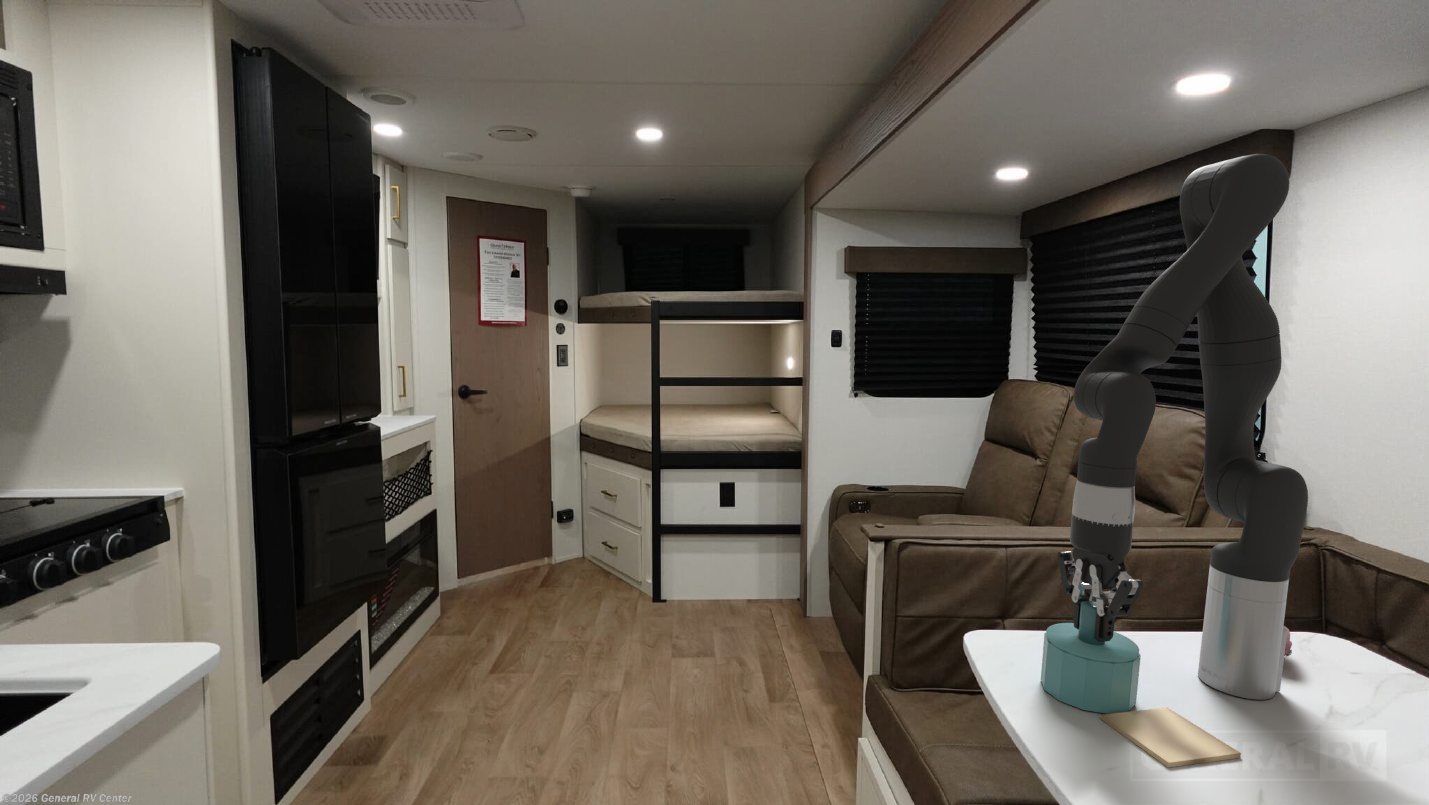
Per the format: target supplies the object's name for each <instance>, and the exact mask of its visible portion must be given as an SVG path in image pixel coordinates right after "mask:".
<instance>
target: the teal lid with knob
mask: <svg viewBox="0 0 1429 805" xmlns="http://www.w3.org/2000/svg"><path fill="white" fill-rule="evenodd" d="M1106 607H1108V606H1107V605H1106ZM1096 614H1098V613H1097V602H1096V601H1094V600H1092V601H1083V602H1081V609H1080V620H1079V630H1078V629H1076V628H1075V627H1074V622H1062V623H1061V622H1059V623H1055V624H1052V625H1049V626H1048V627H1047V629H1046V630H1045V631H1046V632H1045V633H1044V636H1043V645H1042V646H1043V648H1042V658H1041V659H1042V662H1041V673H1040V674H1041V675H1040V680H1041V684H1042V687H1043V690H1044V691H1046V692H1047V693H1049V694H1050V695H1051V696H1052V697H1054V698H1055V699H1056V700H1058V701H1059V702H1061V703H1065V704H1066V705H1069V706H1073V707H1074V708H1078V709H1080V710H1081V711H1082V710H1083V711H1088V712H1094V713H1100V714H1113V713H1122V712H1130V710H1132V709H1133V707H1134V706H1136V704H1137V697H1138V696H1137V695H1138V689H1139V688H1138V686H1139V675H1140V665H1141V653H1140V648H1139V645H1138V644H1137V643H1135V642H1134V640H1132V639H1130V638H1129V637H1127V636H1125V635H1123V634H1121V633H1119V632H1117V631H1114V634H1113V637H1112V639H1111V640H1110V641H1106V642H1099V641H1097V640H1096V639H1095V638H1094V634H1095V623H1096Z"/></svg>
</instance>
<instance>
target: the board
mask: <svg viewBox="0 0 1429 805" xmlns="http://www.w3.org/2000/svg"><path fill="white" fill-rule="evenodd" d="M1100 720H1101V721H1103V722H1104V723H1106V724H1107V725H1108V726H1110V727H1111V728H1112V729H1114V730H1115V731H1117V732H1118V733H1119V734H1121V735H1122V736H1124V737H1125V738H1126V739H1128V740H1129V741H1130V742H1132V743H1133V744H1134V745H1136V746H1137V747H1139V748H1140V749H1142V750H1143V751H1145V753H1147V754H1149V755H1150V756H1152V757H1153V758H1154V759H1156V760H1157V761H1158V762H1160V763H1161V764H1162V765H1164V766H1166V767H1167V768H1175V767H1181V766H1183V767H1184V766H1188V765H1196V764H1197V765H1198V764H1204V763H1211V762H1219V761H1225V760H1234V759H1240V758H1241V757H1242V756H1241V755H1242V753H1241V752H1240V751H1239V750H1237V749H1235V748H1233V747H1232V746H1230V745H1229V744H1227V743H1225V742H1224V741H1223V740H1221V739H1220V738H1217V737H1216V736H1215V735H1213V734H1212V733H1211V732H1208V731H1206V730H1205V729H1203V728H1201V727H1200V726H1198V725H1197V724H1195V723H1193V722H1192V721H1190V720H1188V719H1187V718H1185V717H1184V716H1183V715H1181V714H1179V713H1177V712H1176V711H1174V710H1172V709H1171V708H1169V707H1159V708H1150V709H1143V710H1142V709H1141V710H1132V711H1129V712H1121V713H1113V714H1106V713H1104V714H1101V715H1100Z"/></svg>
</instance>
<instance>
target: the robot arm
mask: <svg viewBox="0 0 1429 805" xmlns="http://www.w3.org/2000/svg"><path fill="white" fill-rule="evenodd" d="M1289 175H1290V174H1289V173H1288V170H1287V168H1286V166H1285V164H1284V163H1283V162H1282V161H1281V160H1280V159H1279V158H1277V157H1276V156H1273V155H1270V154H1266V153H1255V154H1248V155H1242V156H1238V157H1235V158H1231V159H1227V160H1223V161H1219V162H1214V163H1212V164H1208V165H1204V166H1201V167H1198V168H1197V169H1195V170H1194V171H1192V172H1191V173H1190V174H1189V175H1188V176H1187V178H1186V179H1185V181H1184V182H1183V183H1182V187H1181V189H1180V190H1181V191H1180V197H1179V211H1180V212H1179V213H1180V218H1181V224H1182V225H1181V226H1182V230H1183V233H1184V238H1185V245H1186V251H1185V252H1184V253H1183V254H1182V255H1181V256H1180V257H1179V258H1178V259H1177V260H1176V261H1175V262H1173V263H1172V264H1171V265H1170V266H1169V267H1167V269H1165V271H1163V272H1162V273H1161V274H1160V275H1159V276H1158V277H1157V278H1156V279H1155V280H1154V281H1153V282H1152V283H1151V284H1150V285H1149V286H1148V287H1147V288H1146V289H1145V290H1144V291H1143V293H1142V294H1141V296H1140V297H1139V298H1138V299H1137V302H1136V303H1135V304H1134V306H1133V308H1132V309H1131V311H1130V312H1129V314H1128V315H1127V317H1126V319H1125V321H1124V323H1123V325H1122V326H1121V328H1120V330H1119V332H1118V333H1117V335H1116V336H1115V337H1114V338H1113V339H1112V340H1111V341H1109V343H1108V344H1106V345H1105V347H1104V348H1103V349H1102V350H1101V351H1100V352H1099V353H1098V354H1097V355H1096V356H1095V357H1094V358H1093V360H1091V362H1090V363H1089V364H1087V366H1086V367H1084V369H1083V371H1082V372H1081V374H1080V375H1079V376H1078V379H1077V381H1076V382H1075V386H1074V390H1073V401H1074V405H1075V407H1076V409H1077V410H1078V411H1079V412H1080V414H1082V415H1083V416H1085V417H1087V418H1090V419H1093V420H1098V421H1102V423H1101V426H1100V429H1099V432H1098V434H1097V436H1096V437H1092V438H1088V439H1085V440H1084V441H1083V442H1082V443H1081V445H1080V447H1079V448H1080V449H1079V454H1078V464H1077V475H1076V476H1077V477H1076V478H1077V479H1076V482H1075V483H1076V484H1075V487H1074V488H1075V489H1074V492H1073V498H1072V507H1071V508H1072V510H1071V520H1070V522H1071V524H1070V533H1069V542H1070V544H1071V545H1072V546H1073V549H1072V550H1071V551H1070V550H1068V551H1058V552H1057V562H1058V567H1059V571H1060V572H1059V573H1060V576H1061V577H1060V578H1061V583H1062V589H1063V592H1064V593H1065V594H1066V595H1070V596H1071V600H1072V602H1073V616H1072V621H1073V623H1074V627H1075V628H1076V629H1078V630H1079V620H1080V609H1081V602H1083V601H1093V598H1094V599H1095V600H1096V601H1095V602H1097V613H1098V614H1096V623H1095V634H1094V638H1095V639H1096V640H1097V641H1099V642H1106V641H1110V640H1111V639H1112V637H1113V634H1114V632H1115V623H1116V617H1126V616H1127V617H1128V616H1129V615H1130V613H1131V611H1132V609H1133V608H1134V605H1135V603H1136V601H1137V600H1138V597H1139V595H1140V594H1141V591H1142V590H1143V587H1144V583H1143V581H1142V580H1141V579H1134V578H1133V577H1132V576H1131V575H1129V573H1128V572H1127V571H1128V568H1127V564H1126V557H1127V555H1128V554H1129V553H1130V552H1131V551H1132V543H1133V542H1132V541H1133V533H1134V532H1133V531H1134V523H1135V522H1134V520H1135V512H1136V510H1135V508H1136V492H1135V488H1136V487H1135V485H1136V479H1137V478H1136V477H1137V469H1138V468H1137V466H1138V456H1139V453H1140V451H1141V449H1142V447H1143V444H1144V442H1145V440H1146V437H1147V434H1148V431H1149V428H1150V426H1151V424H1152V421H1153V418H1154V416H1155V412H1156V409H1157V408H1156V407H1157V406H1156V405H1157V400H1156V399H1157V397H1156V393H1155V389H1154V387H1153V384H1152V382H1151V381H1150V380H1149V379H1148V377H1146V376H1145V375H1143V374H1141V373H1143V372H1144V371H1145V370H1147V369H1150V368H1153V367H1156V366H1161V365H1163V364H1165V363H1166V362H1167V361H1168V360H1169V359H1170V358H1171V357H1172V355H1173V354H1174V352H1175V350H1176V348H1177V347H1178V345H1179V344H1180V342H1181V341H1182V339H1183V337H1184V336H1185V333H1186V332H1187V331H1188V329H1189V327H1190V326H1191V324H1192V322H1193V320H1194V319H1195V317H1197V334H1198V335H1197V336H1198V337H1197V339H1198V349H1199V360H1200V370H1201V376H1202V389H1203V390H1202V391H1203V402H1204V403H1203V404H1204V405H1203V408H1204V427H1205V428H1204V429H1205V430H1204V432H1205V433H1204V456H1203V457H1204V458H1203V460H1204V461H1203V490H1204V495H1205V498H1206V501H1207V503H1208V505H1209V507H1210V508H1211V510H1213V511H1214V512H1215V513H1216V514H1218V515H1219V516H1221V517H1225V518H1227V519H1231V520H1234V521H1237V522H1240V523H1243V528H1242V533H1241V536H1240V538H1239V540H1238V541H1236V542H1222V543H1217V544H1215V545H1214V546H1213V547H1212V549H1211V552H1210V559H1209V571H1208V579H1207V580H1208V581H1207V589H1206V596H1205V597H1206V598H1205V606H1204V617H1203V626H1202V634H1201V641H1200V651H1199V652H1200V653H1199V658H1198V659H1199V661H1198V662H1199V663H1198V668H1197V669H1198V670H1197V676H1198V678H1199V679H1200V680H1201V681H1202V682H1203V683H1205V684H1206V685H1208V687H1211V688H1213V689H1215V690H1218V691H1219V692H1222V693H1225V694H1227V695H1231V696H1234V697H1238V698H1244V699H1248V700H1258V701H1259V700H1262V701H1263V700H1269V699H1272V698H1274V697H1275V694H1276V693H1277V692H1281V688H1282V686H1281V685H1282V678H1283V670H1284V663H1285V662H1284V661H1285V656H1284V654H1285V646H1286V638H1287V629H1286V628H1285V627H1286V626H1285V625H1284V624H1285V616H1286V607H1287V598H1288V590H1289V581H1290V574H1291V569H1292V567H1293V565H1294V563H1295V562H1296V560H1297V559H1298V556H1299V553H1300V549H1301V548H1300V547H1301V543H1302V542H1301V541H1302V537H1303V532H1304V527H1305V522H1306V517H1307V512H1308V507H1309V506H1308V504H1309V503H1308V502H1309V493H1308V492H1309V490H1308V485H1307V482H1306V480H1305V478H1304V477H1303V475H1302V473H1300V472H1299V471H1297V470H1296V469H1294V468H1292V467H1288V466H1286V465H1281V464H1276V463H1273V462H1267V461H1263V460H1258V459H1257V457H1256V452H1255V445H1254V444H1255V443H1254V442H1255V440H1254V430H1255V422H1256V418H1257V416H1258V413H1259V411H1260V410H1261V408H1262V407H1263V405H1264V403H1265V402H1266V400H1267V399H1268V397H1269V395H1270V394H1271V392H1272V390H1273V388H1274V386H1275V385H1276V383H1277V381H1278V378H1280V377H1279V376H1280V373H1281V370H1282V348H1281V346H1282V345H1281V335H1280V333H1281V332H1280V325H1279V324H1280V323H1279V321H1278V317H1277V315H1276V313H1275V311H1274V309H1273V307H1272V305H1271V304H1270V303H1269V301H1268V299H1267V298H1266V296H1265V295H1264V294H1263V292H1262V291H1261V289H1260V288H1259V287H1258V285H1257V284H1256V283H1255V281H1254V280H1253V278H1252V277H1251V275H1250V274H1249V272H1248V270H1247V268H1246V265H1245V262H1244V260H1243V255H1244V254H1245V253H1246V251H1247V250H1248V249H1249V247H1250V246H1251V245H1253V243H1254V241H1256V239H1257V238H1258V237H1259V236H1260V235H1261V234H1262V233H1263V231H1265V229H1266V228H1267V227H1268V225H1270V223H1271V222H1272V221H1273V220H1274V218H1275V217H1276V216H1277V215H1278V213H1279V212H1280V210H1282V207H1283V205H1284V204H1285V202H1286V200H1287V198H1288V194H1289V190H1290V176H1289ZM1071 577H1072V581H1071ZM1071 582H1072V583H1071ZM1103 590H1106V591H1103ZM1107 590H1108V591H1107ZM1107 600H1108V606H1107ZM1106 606H1107V607H1106ZM1284 626H1285V627H1284Z"/></svg>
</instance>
